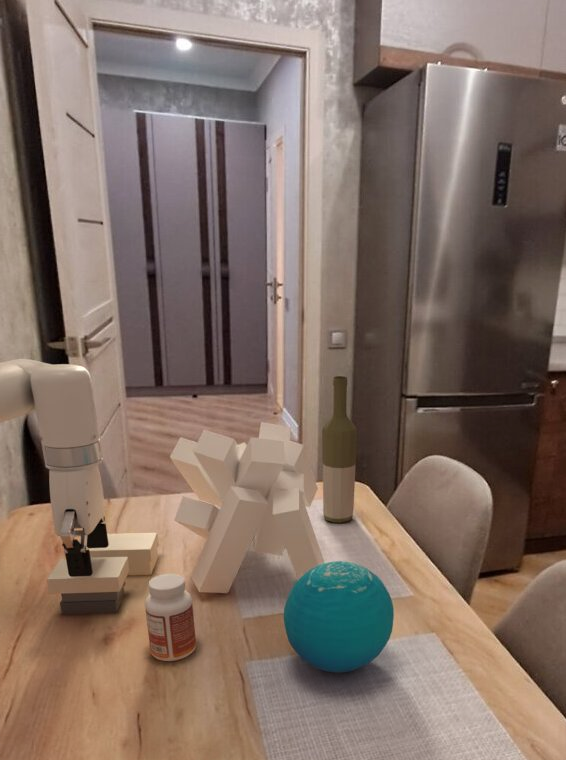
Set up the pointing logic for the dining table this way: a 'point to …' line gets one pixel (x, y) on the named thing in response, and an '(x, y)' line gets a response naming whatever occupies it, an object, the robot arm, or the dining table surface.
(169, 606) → the pill bottle
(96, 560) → the cream flat block
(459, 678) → the dining table surface
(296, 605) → the decorative orb
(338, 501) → the bottle
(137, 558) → the white books
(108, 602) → the grey books
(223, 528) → the pile of blocks
